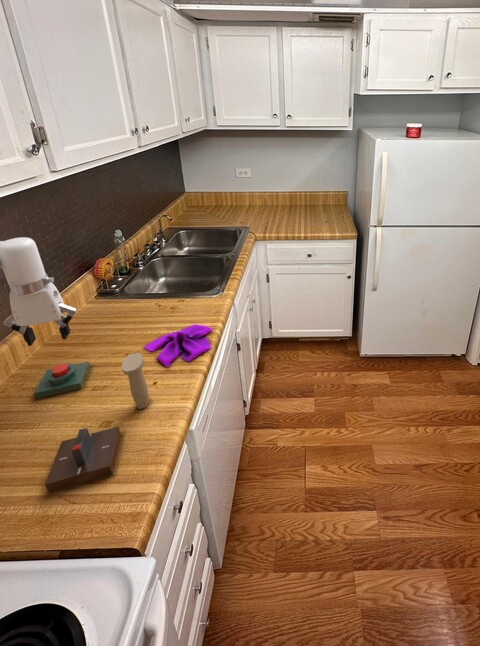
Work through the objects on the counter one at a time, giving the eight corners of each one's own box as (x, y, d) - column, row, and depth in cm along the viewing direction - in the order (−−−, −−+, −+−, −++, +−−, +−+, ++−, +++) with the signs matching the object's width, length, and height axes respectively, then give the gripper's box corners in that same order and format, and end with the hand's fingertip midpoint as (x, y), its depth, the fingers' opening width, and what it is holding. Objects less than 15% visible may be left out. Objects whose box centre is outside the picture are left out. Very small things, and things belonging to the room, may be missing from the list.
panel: (48, 493, 70) (44, 484, 69) (65, 450, 79) (61, 440, 78) (112, 474, 74) (109, 465, 73) (121, 434, 83) (118, 425, 82)
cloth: (211, 322, 125) (209, 308, 123) (216, 355, 109) (214, 340, 106) (145, 336, 117) (142, 322, 115) (140, 374, 101) (137, 358, 99)
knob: (84, 443, 78) (78, 428, 76) (92, 440, 78) (87, 426, 76) (76, 465, 73) (71, 451, 71) (85, 463, 73) (79, 448, 72)
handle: (132, 416, 88) (120, 373, 82) (134, 397, 93) (123, 355, 88) (152, 411, 89) (141, 368, 84) (153, 392, 95) (143, 351, 89)
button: (52, 378, 95) (50, 374, 94) (56, 369, 98) (54, 365, 97) (66, 375, 96) (65, 371, 95) (70, 366, 99) (69, 362, 98)
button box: (36, 399, 93) (31, 388, 91) (48, 375, 100) (44, 365, 99) (81, 388, 96) (78, 378, 94) (90, 366, 104) (87, 356, 102)
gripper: (73, 272, 92) (89, 325, 98) (-5, 282, 87) (17, 337, 93) (64, 286, 85) (81, 341, 92) (-21, 298, 80) (4, 355, 86)
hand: (49, 339), depth 92 cm, fingers open, 7 cm apart
